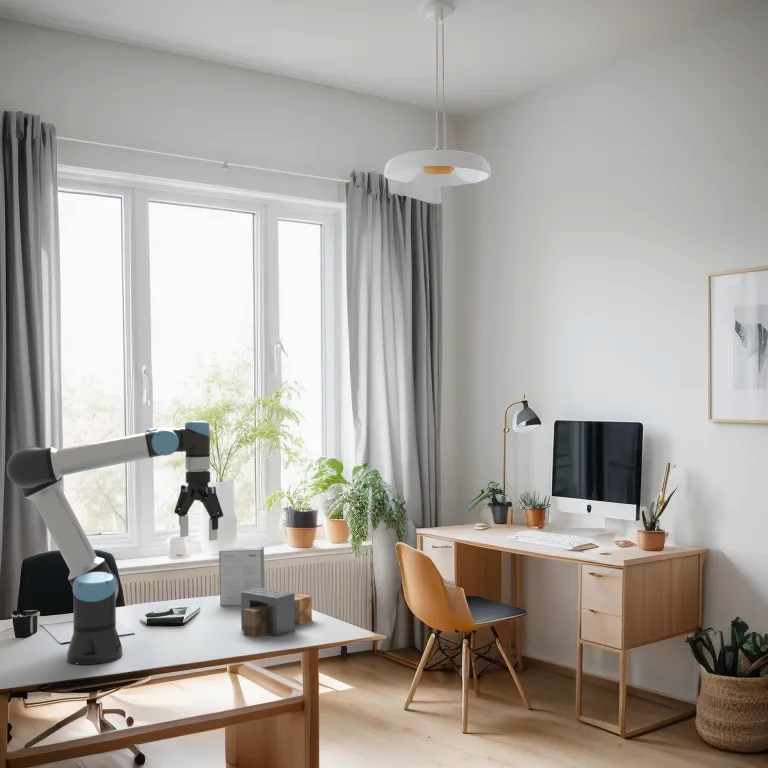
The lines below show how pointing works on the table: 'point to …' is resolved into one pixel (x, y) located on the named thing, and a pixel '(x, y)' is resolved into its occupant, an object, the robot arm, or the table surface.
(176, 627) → the table surface
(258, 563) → the hard drive box
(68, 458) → the robot arm
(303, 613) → the bar
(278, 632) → the socket housing
